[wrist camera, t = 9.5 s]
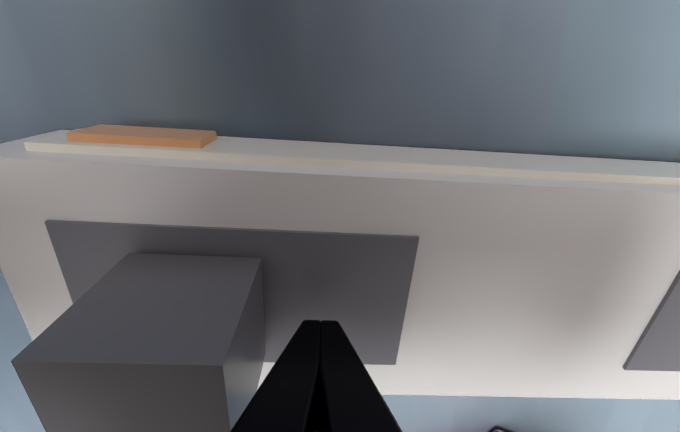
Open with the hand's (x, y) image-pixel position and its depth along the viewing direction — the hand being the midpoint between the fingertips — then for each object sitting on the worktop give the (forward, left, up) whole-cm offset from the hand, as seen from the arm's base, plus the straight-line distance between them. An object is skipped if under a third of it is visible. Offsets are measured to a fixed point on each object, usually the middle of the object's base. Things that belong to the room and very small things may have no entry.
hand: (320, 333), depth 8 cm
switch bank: (0, -6, -4) cm, 7 cm away
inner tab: (0, +3, -1) cm, 3 cm away
